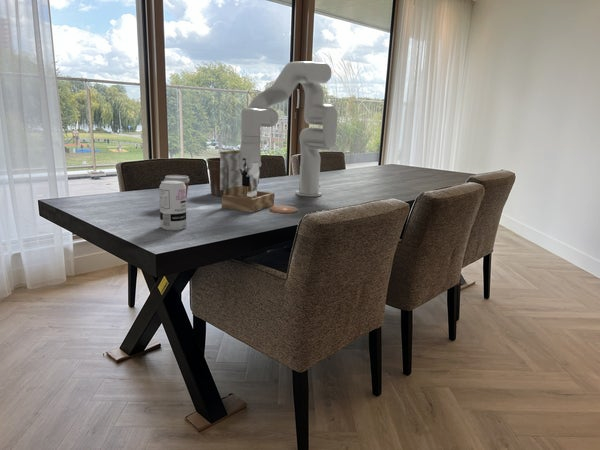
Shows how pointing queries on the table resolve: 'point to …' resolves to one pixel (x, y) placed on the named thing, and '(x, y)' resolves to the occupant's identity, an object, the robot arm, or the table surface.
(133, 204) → the table surface
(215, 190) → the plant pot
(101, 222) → the table surface
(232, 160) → the open wooden box
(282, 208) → the saucer
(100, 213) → the table surface
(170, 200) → the supplement can
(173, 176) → the disposable coffee cup
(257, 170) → the beer glass
